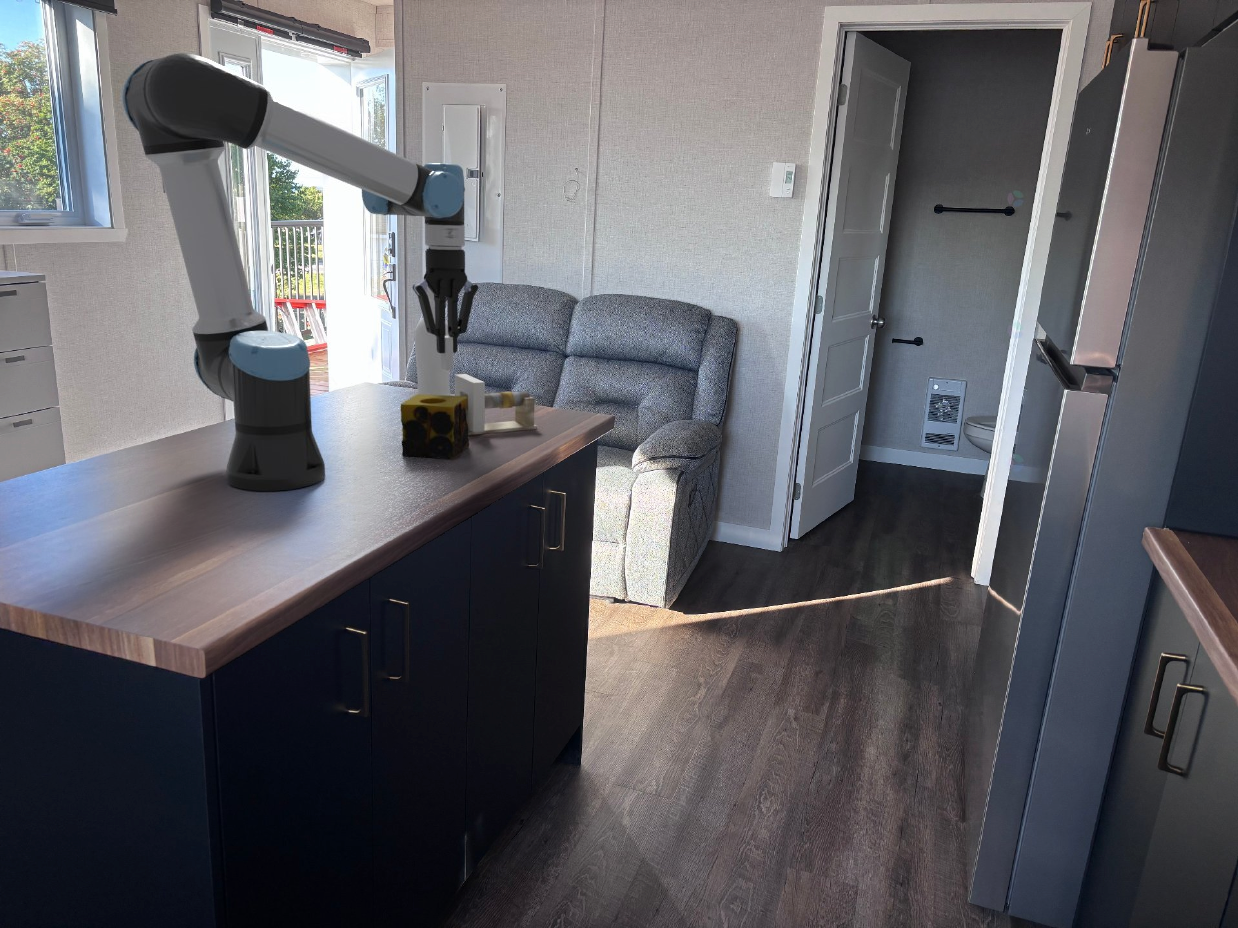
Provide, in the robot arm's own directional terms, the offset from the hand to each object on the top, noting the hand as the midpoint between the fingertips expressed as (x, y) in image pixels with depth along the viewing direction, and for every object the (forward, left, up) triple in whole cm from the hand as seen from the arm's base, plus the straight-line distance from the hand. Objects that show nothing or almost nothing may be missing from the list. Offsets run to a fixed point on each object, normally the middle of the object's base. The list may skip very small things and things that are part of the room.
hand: (447, 369), depth 183 cm
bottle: (+4, +18, -13) cm, 23 cm away
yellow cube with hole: (-7, -13, -13) cm, 20 cm away
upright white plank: (+5, 0, -13) cm, 14 cm away
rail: (+9, 0, -13) cm, 16 cm away
